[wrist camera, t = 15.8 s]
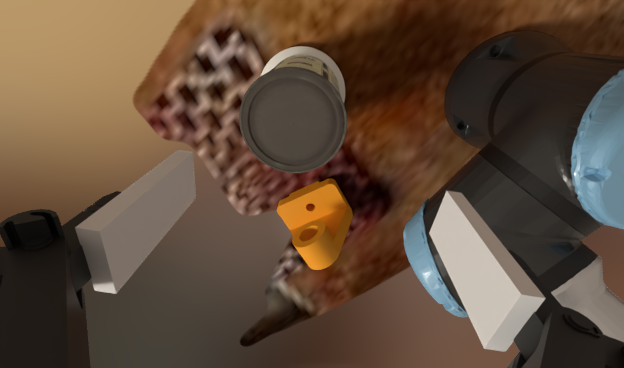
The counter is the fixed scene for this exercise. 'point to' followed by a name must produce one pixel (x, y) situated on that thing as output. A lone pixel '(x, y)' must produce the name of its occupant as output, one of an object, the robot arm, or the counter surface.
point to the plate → (312, 52)
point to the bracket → (317, 221)
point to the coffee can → (294, 115)
